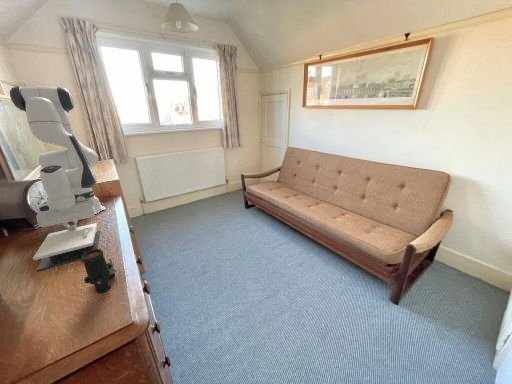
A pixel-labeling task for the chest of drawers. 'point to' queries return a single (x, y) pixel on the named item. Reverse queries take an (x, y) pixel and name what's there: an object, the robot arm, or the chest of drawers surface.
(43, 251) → the panel
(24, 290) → the chest of drawers surface
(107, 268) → the scope
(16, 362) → the chest of drawers surface
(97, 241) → the stage base
